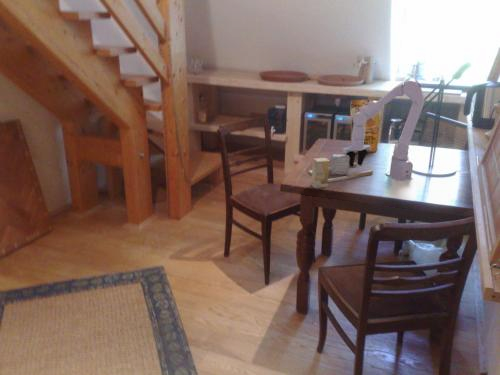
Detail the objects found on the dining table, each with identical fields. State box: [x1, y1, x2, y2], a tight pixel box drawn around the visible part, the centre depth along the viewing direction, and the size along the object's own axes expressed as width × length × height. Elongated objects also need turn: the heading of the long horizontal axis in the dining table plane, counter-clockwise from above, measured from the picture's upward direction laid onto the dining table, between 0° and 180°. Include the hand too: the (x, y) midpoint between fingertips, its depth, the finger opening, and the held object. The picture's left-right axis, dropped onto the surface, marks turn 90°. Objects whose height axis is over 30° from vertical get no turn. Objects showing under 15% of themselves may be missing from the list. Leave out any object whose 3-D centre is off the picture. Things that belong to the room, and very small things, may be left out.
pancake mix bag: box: [349, 98, 383, 154], centre depth 235 cm, size 7×19×28 cm, turn 99°
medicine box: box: [330, 153, 350, 176], centre depth 205 cm, size 8×4×9 cm, turn 81°
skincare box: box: [310, 157, 330, 189], centre depth 190 cm, size 6×4×12 cm
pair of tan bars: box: [345, 162, 374, 179], centre depth 209 cm, size 13×14×2 cm
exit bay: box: [308, 166, 348, 183], centre depth 204 cm, size 14×12×1 cm
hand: (355, 165), depth 209 cm, fingers open, 4 cm apart
